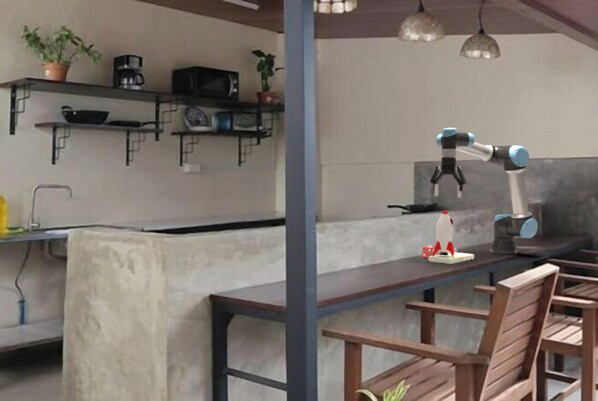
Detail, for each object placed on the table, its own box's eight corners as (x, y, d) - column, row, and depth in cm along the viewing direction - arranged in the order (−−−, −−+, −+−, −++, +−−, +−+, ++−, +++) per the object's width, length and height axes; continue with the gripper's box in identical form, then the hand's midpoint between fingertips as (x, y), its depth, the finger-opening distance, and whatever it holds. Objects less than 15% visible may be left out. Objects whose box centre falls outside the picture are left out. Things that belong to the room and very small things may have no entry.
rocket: (453, 258, 337) (455, 211, 336) (433, 257, 340) (434, 210, 339) (454, 255, 348) (455, 209, 347) (434, 254, 351) (435, 209, 350)
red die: (427, 256, 361) (428, 244, 360) (438, 257, 356) (438, 246, 356) (421, 257, 356) (421, 245, 355) (432, 258, 351) (432, 247, 351)
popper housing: (438, 253, 375) (438, 246, 375) (456, 255, 367) (456, 248, 367) (427, 255, 366) (427, 248, 366) (446, 257, 358) (446, 250, 358)
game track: (452, 256, 363) (452, 252, 363) (474, 259, 354) (474, 254, 354) (428, 261, 343) (428, 256, 343) (450, 264, 334) (450, 259, 334)
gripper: (424, 156, 346) (423, 196, 347) (467, 157, 329) (465, 198, 330) (431, 157, 351) (430, 195, 352) (473, 157, 335) (472, 197, 336)
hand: (447, 197), depth 341 cm, fingers open, 13 cm apart
